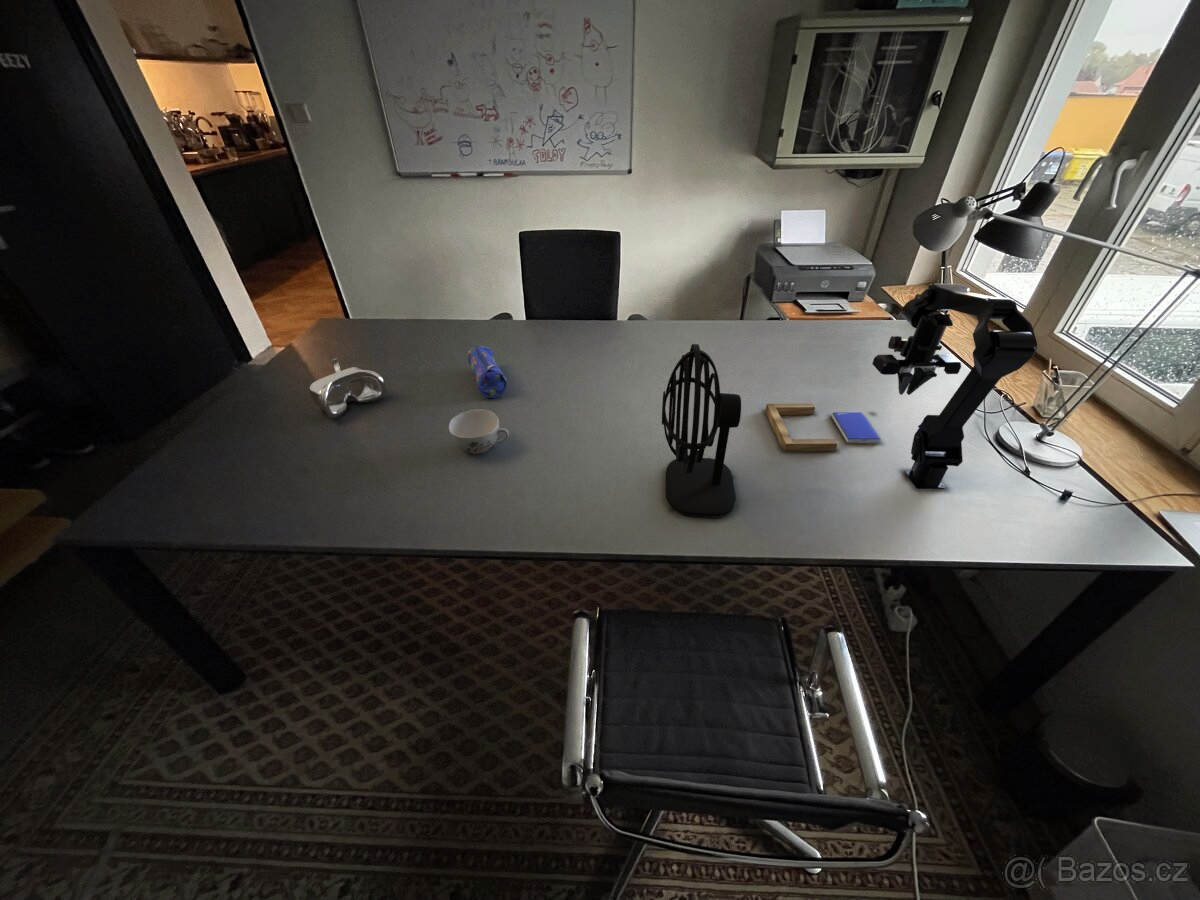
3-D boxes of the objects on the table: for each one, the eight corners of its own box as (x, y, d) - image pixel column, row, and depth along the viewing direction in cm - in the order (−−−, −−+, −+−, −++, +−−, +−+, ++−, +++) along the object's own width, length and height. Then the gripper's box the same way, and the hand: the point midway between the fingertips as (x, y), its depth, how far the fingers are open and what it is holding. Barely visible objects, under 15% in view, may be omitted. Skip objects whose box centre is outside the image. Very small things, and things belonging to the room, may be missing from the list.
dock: (835, 451, 128) (837, 443, 126) (783, 451, 128) (785, 443, 127) (811, 410, 143) (813, 403, 141) (765, 411, 143) (766, 403, 142)
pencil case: (510, 397, 152) (505, 368, 146) (481, 403, 149) (476, 374, 143) (494, 365, 168) (490, 338, 162) (468, 370, 166) (463, 343, 160)
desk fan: (658, 450, 129) (666, 321, 108) (727, 454, 128) (749, 323, 106) (656, 526, 108) (666, 384, 87) (739, 532, 106) (770, 387, 85)
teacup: (446, 459, 128) (439, 434, 123) (465, 431, 137) (459, 407, 133) (502, 465, 125) (498, 439, 121) (518, 436, 135) (514, 411, 130)
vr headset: (332, 425, 141) (313, 380, 132) (313, 411, 147) (294, 367, 138) (390, 399, 152) (376, 356, 143) (371, 387, 158) (356, 344, 149)
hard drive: (832, 412, 139) (848, 438, 129) (862, 412, 139) (881, 438, 129) (831, 416, 140) (847, 443, 130) (861, 416, 140) (879, 443, 130)
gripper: (948, 322, 125) (925, 378, 135) (873, 323, 126) (854, 378, 135) (974, 342, 116) (947, 400, 126) (893, 343, 117) (872, 400, 126)
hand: (904, 394), depth 128 cm, fingers closed
